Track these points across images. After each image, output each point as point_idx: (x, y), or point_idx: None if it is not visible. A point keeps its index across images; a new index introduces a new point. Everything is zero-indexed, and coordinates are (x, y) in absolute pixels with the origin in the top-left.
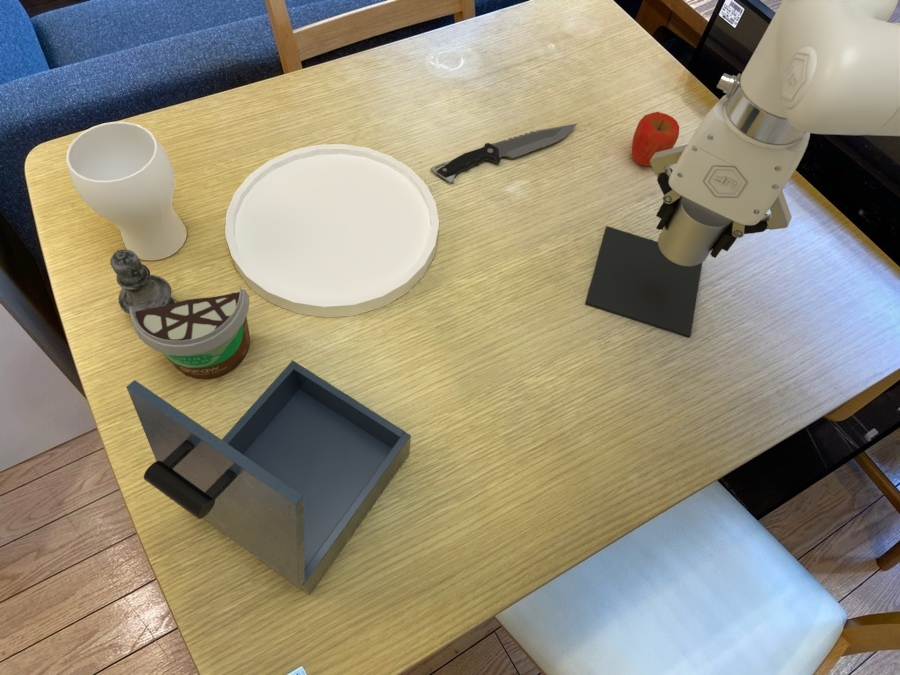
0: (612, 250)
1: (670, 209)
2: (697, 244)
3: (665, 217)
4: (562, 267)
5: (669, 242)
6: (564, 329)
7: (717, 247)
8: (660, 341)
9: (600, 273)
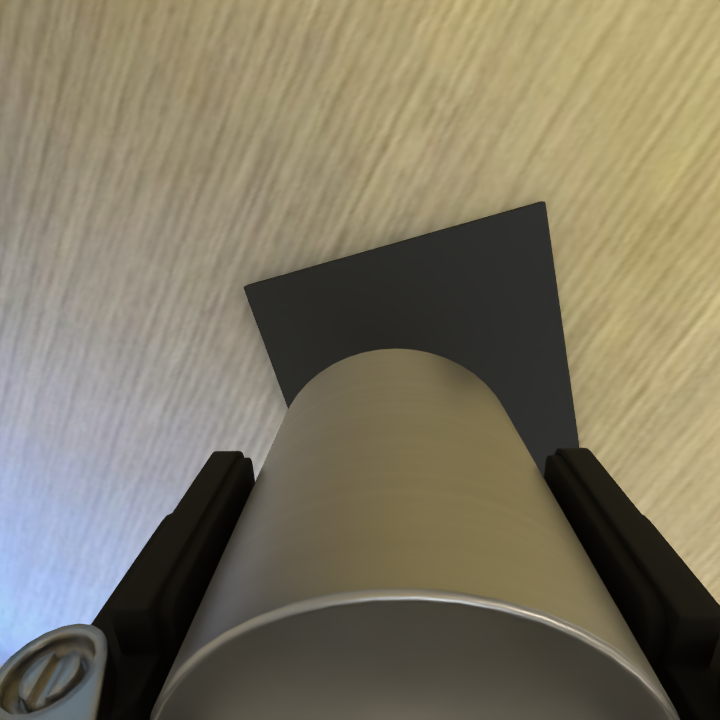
0: (540, 412)
1: (672, 595)
2: (324, 444)
3: (623, 519)
4: (649, 281)
5: (477, 402)
6: (566, 68)
7: (209, 498)
8: (302, 225)
9: (543, 323)
